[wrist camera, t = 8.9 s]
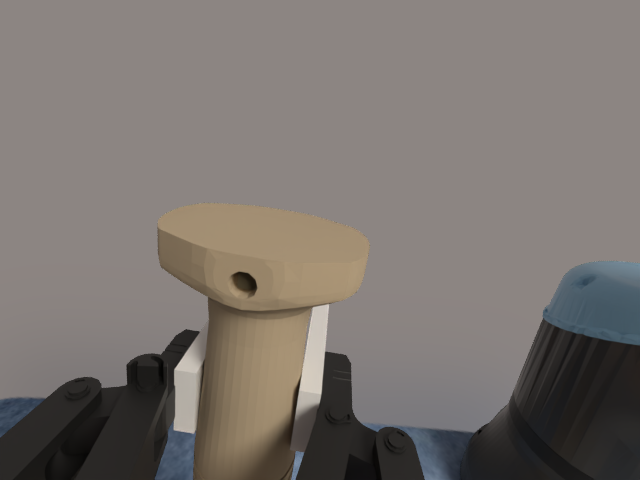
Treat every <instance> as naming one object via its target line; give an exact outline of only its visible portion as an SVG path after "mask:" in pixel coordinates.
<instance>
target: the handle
mask: <svg viewBox="0 0 640 480" xmlns="http://www.w3.org/2000/svg"><path fill="white" fill-rule="evenodd" d="M369 248H370V244H369V241H368V239H367V238H366V237H365V235H363V234H362V233H361V232H359V231H358V230H356V229H355V228H352V227H349V226H346V225H342V224H340V223H337V222H333V221H330V220H327V219H323V218H320V217H316V216H312V215H308V214H303V213H298V212H292V211H287V210H281V209H275V208H268V207H261V206H251V205H237V204H219V203H201V204H194V205H188V206H184V207H180V208H177V209H175V210H172V211H170V212H168V213H166V214H165V215H163V216H162V217H161V218H160V219H159V220H158V255H159V261H160V265H161V267H162V268H163V269H165V270H166V271H167V272H168V273H170V274H171V275H173V276H174V277H176V278H177V279H179V280H180V281H182V282H183V283H185V284H187V285H188V286H190V287H191V288H193V289H195V290H197V291H198V292H200V293H202V294H204V295H206V296H208V310H209V324H208V334H207V344H206V354H205V364H204V374H203V383H202V390H201V399H200V408H199V417H198V426H197V430H196V438H195V447H194V470H193V480H291V477H292V471H293V465H294V459H295V452H296V451H294V450H290V446H291V439H292V433H293V427H294V420H295V414H296V408H297V401H298V395H299V389H300V383H301V377H302V368H303V359H304V349H305V338H306V329H307V324H308V320H309V316H310V312H311V309H312V308H313V307H316V306H322V305H327V304H331V303H334V302H338V301H342V300H344V299H346V298H348V297H350V296H352V295H353V294H354V293H356V292H357V290H358V289H359V287H360V285H361V283H362V280H363V277H364V273H365V268H366V264H367V259H368V254H369Z"/></svg>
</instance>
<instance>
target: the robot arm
mask: <svg viewBox="0 0 640 480" xmlns="http://www.w3.org/2000/svg"><path fill="white" fill-rule="evenodd" d="M328 310H329V304H327V305H322V306H316V307H313V312H312V317H311V323H310V329H309V335H308V341H307V347H306V353H305V359H304V365H303V371H302V377H301V383H300V389H299V395H298V401H297V408H296V414H295V420H294V427H293V433H292V439H291V446H290V450H294V451H300V452H305V453H304V456H303V459H302V462H301V465H300V468H299V471H298V474H297V477H296V480H425V479H424V475H423V472H422V468H421V465H420V461H419V458H418V454H417V451H416V447H415V445H414V442H413V440H412V439H411V438H410V437H409V436H408V434H407V433H405V432H404V431H402V430H400V429H398V428H394V427H384V428H382V429H380V430H379V431H378V432H376V431H374V430H372V429H369V428H368V427H366V426H364V425H363V424H361V423H360V422H359V421H358V420H357V419H356V417H355V415H354V413H353V410H352V387H351V363H350V361H349V359H348V358H347V356H346V355H343V354H337V353H331V352H325V345H326V333H327V321H328ZM208 324H209V320H208V321H207V323H206V324H205V326H204V327H203V329H202V330H201V331H200V332H199V331H192V330H187V329H186V330H184V331H183V332H181V333H179V334H178V335H176V336H175V337H174V339H173V340H172V341H171V343H170V345H168V346H167V348H166V349H165V351H164V352H163V353H162V354H161V355H159V354H144V355H141V356H138V357H136V358H134V359H132V360H131V361H130V362H129V363H128V364H127V385H126V386H121V387H111V388H101V383H100V382H99V380H97V379H95V378H92V377H83V378H77V379H74V380H71V381H69V382H67V383H65V384H64V385H62V386H60V387H59V388H58V389H57V390H56V391H55V392H53V393H52V394H51V395H50V396H49V397H47V398H46V399H45V400H44V401H43V402H42V403H40V404H39V405H38V406H37V407H36V408H35V409H33V410H32V411H31V412H30V413H29V414H28V415H26V416H25V417H24V418H23V419H22V420H21V421H19V422H18V423H17V424H16V425H15V426H14V427H12V428H11V429H10V430H9V431H8V432H7V433H5V434H4V435H3V436H2V437H1V438H0V480H154V479H155V476H156V473H157V470H158V467H159V464H160V461H161V458H162V455H163V452H164V449H165V446H166V443H167V438H168V429H169V427H170V425H171V423H172V422H173V420H174V430H176V431H182V432H188V433H195V431H196V429H197V426H198V417H199V408H200V399H201V390H202V383H203V374H204V364H205V354H206V344H207V334H208ZM460 479H461V480H640V263H631V262H618V261H598V262H589V263H585V264H581V265H579V266H576V267H574V268H572V269H571V270H570V271H568V272H567V273H566V274H565V275H564V277H563V278H562V280H561V282H560V284H559V286H558V288H557V290H556V292H555V294H554V296H553V298H552V300H551V302H550V304H549V305H548V306H546V307H545V309H544V311H543V320H542V322H541V325H540V328H539V330H538V332H537V335H536V337H535V340H534V342H533V344H532V347H531V349H530V352H529V354H528V357H527V359H526V362H525V364H524V367H523V369H522V371H521V374H520V376H519V379H518V381H517V384H516V386H515V389H514V391H513V394H512V396H511V399H510V401H509V403H508V404H507V405H506V406H505V407H504V408H503V409H502V410H501V411H500V412H499V413H498V414H497V415H496V416H495V418H494V419H493V420H492V421H491V422H490V423H488V424H486V425H484V426H483V427H481V428H480V429H479V430H478V431H477V432H476V433H475V434H474V435H473V436H472V438H471V439H470V441H469V443H468V446H467V448H466V451H465V454H464V456H463V459H462V462H461V468H460Z"/></svg>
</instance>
